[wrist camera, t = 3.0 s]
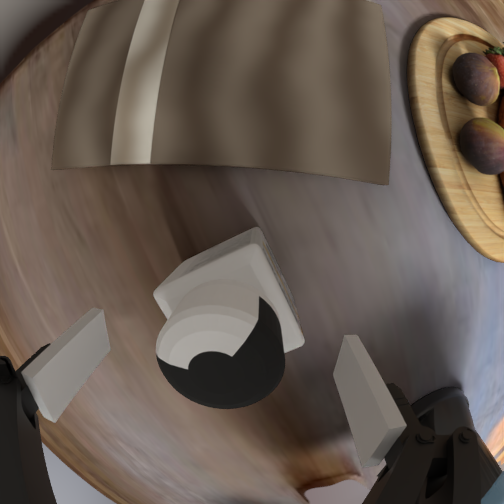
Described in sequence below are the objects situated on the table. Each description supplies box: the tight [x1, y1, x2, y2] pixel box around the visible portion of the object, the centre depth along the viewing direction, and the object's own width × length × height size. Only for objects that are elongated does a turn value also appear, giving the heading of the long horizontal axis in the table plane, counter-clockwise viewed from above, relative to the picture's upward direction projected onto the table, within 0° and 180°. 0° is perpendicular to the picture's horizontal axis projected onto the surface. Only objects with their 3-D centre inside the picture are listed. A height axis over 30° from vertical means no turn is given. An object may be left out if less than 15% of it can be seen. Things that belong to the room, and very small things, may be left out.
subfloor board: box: [51, 0, 391, 185], centre depth 19 cm, size 32×20×2 cm, turn 86°
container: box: [153, 227, 305, 409], centre depth 18 cm, size 8×8×13 cm
